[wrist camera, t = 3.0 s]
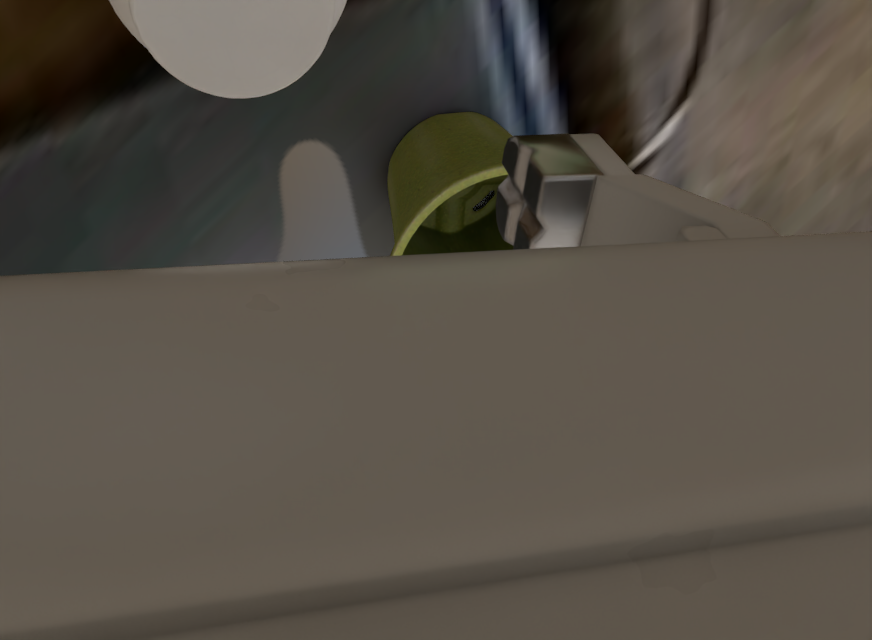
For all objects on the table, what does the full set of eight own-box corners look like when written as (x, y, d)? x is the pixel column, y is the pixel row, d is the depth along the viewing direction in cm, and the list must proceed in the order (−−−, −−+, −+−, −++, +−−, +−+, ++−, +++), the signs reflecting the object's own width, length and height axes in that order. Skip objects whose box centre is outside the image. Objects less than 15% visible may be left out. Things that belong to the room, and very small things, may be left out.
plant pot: (452, 25, 33) (516, 113, 27) (587, 153, 39) (669, 253, 32) (308, 187, 36) (334, 302, 30) (452, 285, 42) (501, 401, 35)
